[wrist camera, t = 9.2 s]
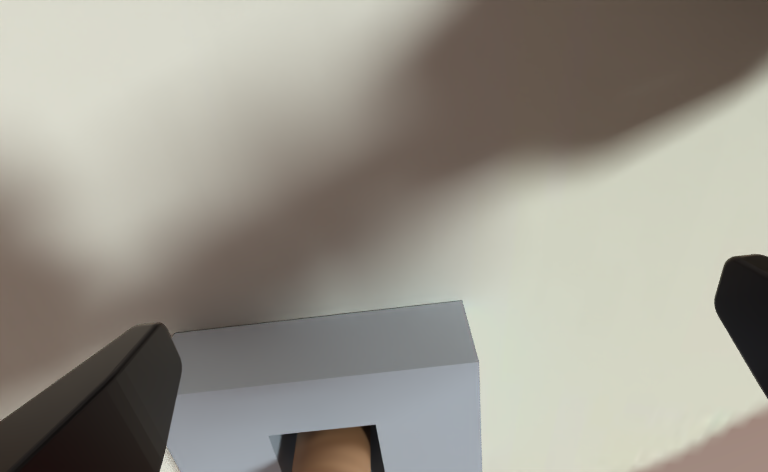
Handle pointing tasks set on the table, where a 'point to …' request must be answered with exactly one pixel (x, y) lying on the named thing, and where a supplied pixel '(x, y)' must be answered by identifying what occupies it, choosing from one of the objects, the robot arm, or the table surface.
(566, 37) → the table surface
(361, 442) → the peg
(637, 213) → the table surface
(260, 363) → the socket block
